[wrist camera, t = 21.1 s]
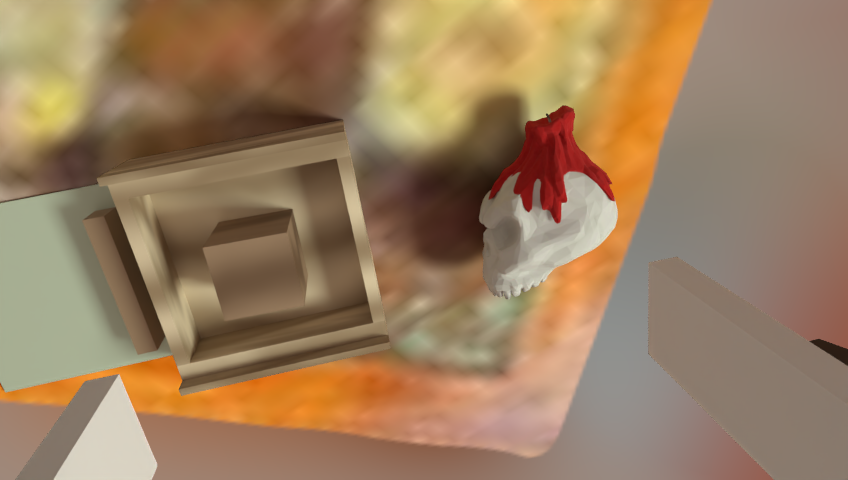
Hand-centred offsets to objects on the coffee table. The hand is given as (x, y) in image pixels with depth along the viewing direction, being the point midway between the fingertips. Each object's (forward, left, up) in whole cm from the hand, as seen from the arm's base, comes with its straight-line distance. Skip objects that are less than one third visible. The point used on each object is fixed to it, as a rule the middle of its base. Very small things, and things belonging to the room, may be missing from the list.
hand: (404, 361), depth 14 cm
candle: (+7, +14, -34) cm, 38 cm away
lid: (+8, -26, -34) cm, 44 cm away
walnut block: (+8, -9, -33) cm, 35 cm away
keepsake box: (+7, -9, -34) cm, 36 cm away
